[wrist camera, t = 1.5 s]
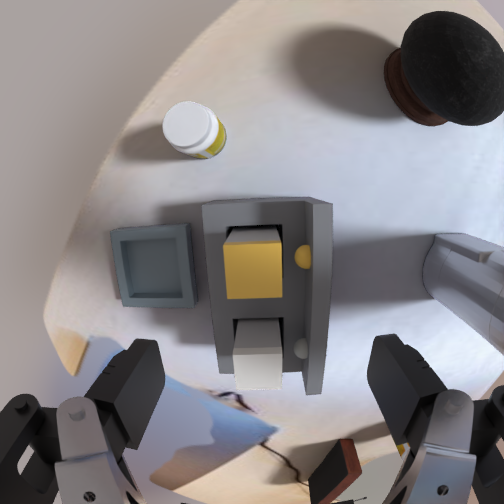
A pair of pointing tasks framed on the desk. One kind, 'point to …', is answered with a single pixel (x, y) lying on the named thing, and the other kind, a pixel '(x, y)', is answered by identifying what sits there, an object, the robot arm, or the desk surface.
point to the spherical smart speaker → (447, 71)
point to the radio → (335, 473)
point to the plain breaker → (258, 354)
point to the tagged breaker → (253, 263)
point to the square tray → (155, 266)
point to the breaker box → (293, 280)
